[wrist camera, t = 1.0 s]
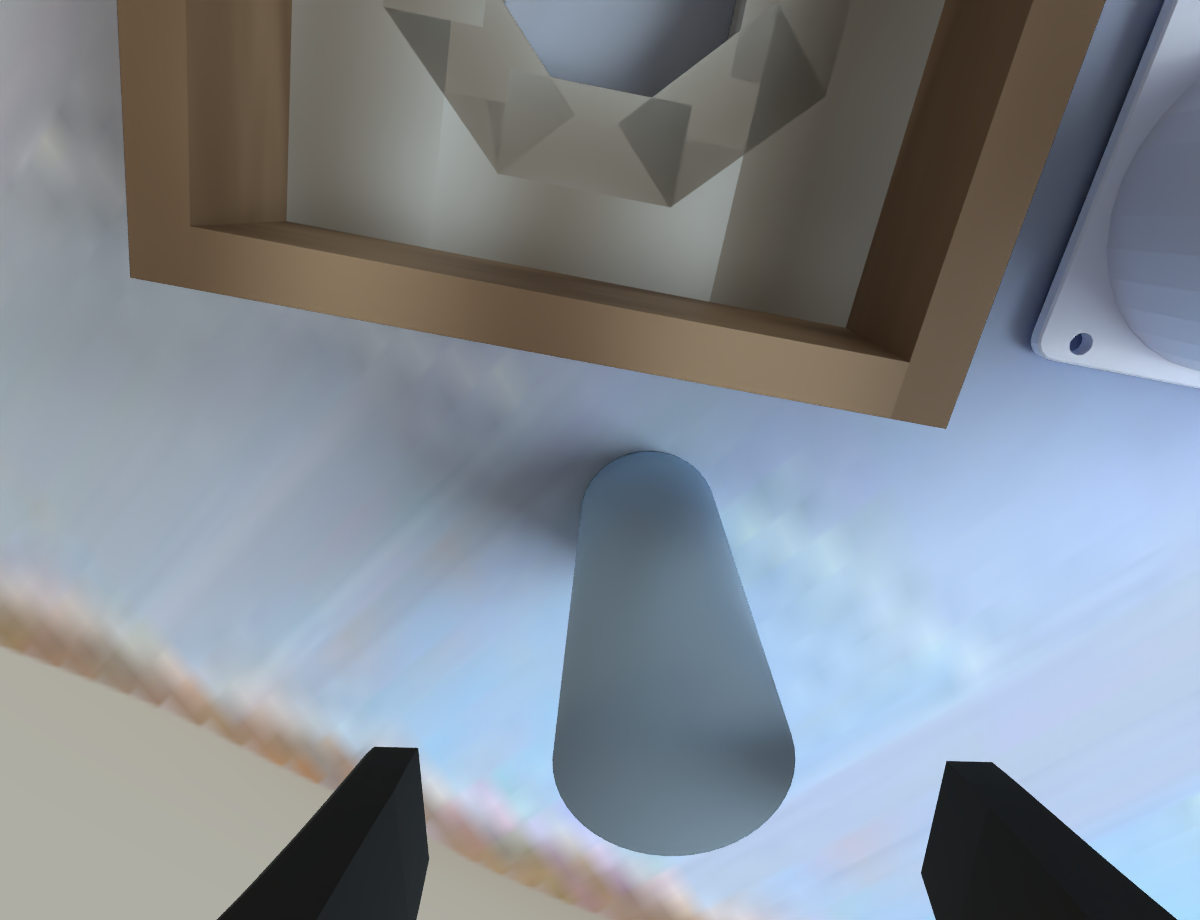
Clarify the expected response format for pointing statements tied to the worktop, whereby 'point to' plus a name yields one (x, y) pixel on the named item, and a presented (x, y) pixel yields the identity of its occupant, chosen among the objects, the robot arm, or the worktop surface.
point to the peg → (664, 672)
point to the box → (609, 182)
